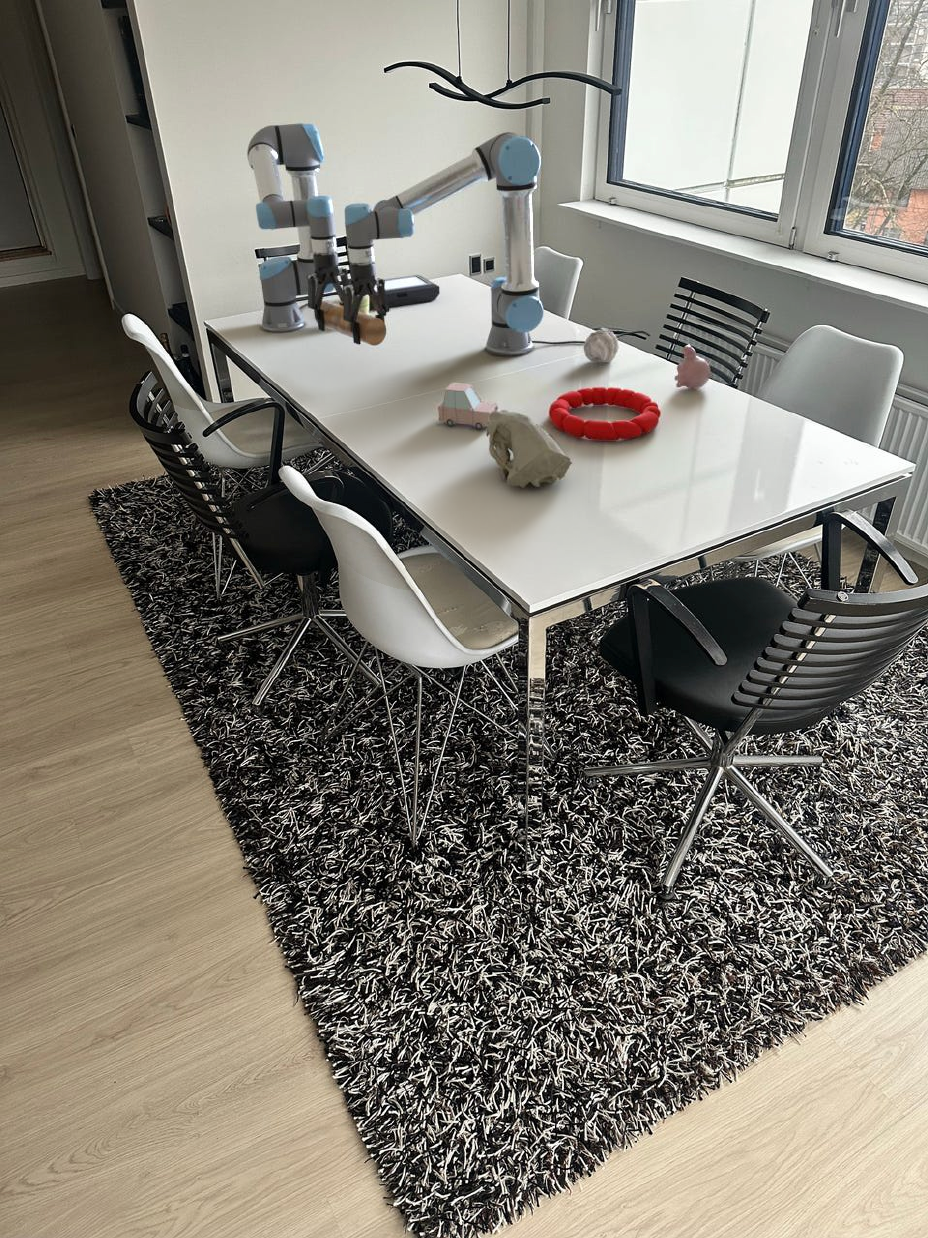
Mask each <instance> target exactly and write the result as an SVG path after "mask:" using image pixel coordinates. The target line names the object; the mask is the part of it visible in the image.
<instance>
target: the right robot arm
mask: <svg viewBox="0 0 928 1238" xmlns="http://www.w3.org/2000/svg"><path fill="white" fill-rule="evenodd" d="M541 162H542V161H541V154H540V151H539V149H538V147H537V146H536V144H535V143H534V142H533V141H532V140H531V139H530V138H528V137H526V136H523V135H519V134H518V133H515V132H510V131H505V132H502V133H499V134H497V135H495V136H494V137H492V138H490V139H489V140H486V141H485V142H483V143H482V144H480V145H478V146H476V147H474V148H473V149H472V150H471V153H470V155H468V156H466V157H464V158H462V159H461V160H459V161H457V162H455V163H453V164H451V165H450V166H448V167H446V168H443V169H442V170H440V171H439V172H436V173H435V174H433V175H431V176H429V177H428V178H425V179H423V180H421V181H420V182H418V183H416V184H415V185H413V186H411V187H409V188H407V189H405V190H403V191H401V192H400V193H398V194H396V195H395V196H393V197H391V198H388V199H382V200H379V201H377V203H376V204H375V205H374V207H373V209H371V206H370V205H369V203H360V202H357V203H350V204H348V205H346V206H345V208H344V226H345V234H346V245H347V257H348V262H349V265H348V267H349V276H350V278H351V279H352V281H351V285H349V286H342V289H343V292H344V310H343V320H345V321H347V322H349V323H350V331H351V333H353V338H352V341H353V344H356V345H359V346H360V345H362V343H361V342H362V341H360V331H359V322H356V320H357V316H358V312H359V308H360V303H361V300H362V299H363V296H366V295H369V297H370V299H371V301H372V303H373V305H374V307H375V309H374V310H375V312H376V313H377V314H374V317H376V318H378V319H381V320H382V321H383V322H384V323H385V324H386V322H385V317H386V316H387V313H389V312H390V307H389V305H388V301H387V296H386V292H385V279H383V278H380V277H378V278H376V276H377V275H376V274H377V272H376V263H375V249H374V241H375V240H388V239H391V240H392V239H404V238H410V237H413V235H414V231H415V221H414V217H416V216H418V215H420V214H421V213H424V212H425V211H428V210H429V209H431V208H433V207H435V206H436V205H439V204H440V203H442V202H444V201H446V200H449V198H452V197H453V196H455V195H458V194H459V193H462V192H463V191H464V190H467V189H468V188H470V187H472V186H474V185H476V184H478V183H479V182H482V181H483V182H487V183H488V182H489V181H491V180H493V179H495V185H496V187H495V188H496V191H497V192H498V193H499V194H500V195H501V200H502V202H501V203H502V224H503V226H502V227H503V245H504V246H503V248H504V269H505V272H504V273H505V276H502V277H501V276H500V277H496V278H494V279H492V281H491V287H490V295H491V296H490V297H491V301H490V303H491V304H490V305H491V327H490V331H489V334H488V338H487V340H486V344H485V345H486V351H487V352H488V353H490V354H492V355H495V356H502V357H516V356H521V355H525V354H528V353H530V352H531V351H532V350H533V344H543V345H564V344H565V345H567V344H568V345H569V344H583V345H584V344H585V342H586V340H568V341H543V340H532V337H531V334H530V332H532V331H534V330H535V329H537V327H539V326H540V324H541V323H542V320H543V318H544V306H543V304H542V301H541V300H540V283H539V282H538V281H537V280H536V279H535V275H534V273H535V272H534V235H533V234H534V233H533V231H534V230H533V199H532V198H533V196H532V194H533V192H534V191H535V189H537V185H538V184H537V176H538V174H539V171H540V168H541ZM375 285H376V286H377V291H378V295H379V299H378V297H377V293H376V291H375V289H374V288H375ZM352 289H353V290H354V293H353V302H352V292H353V291H352ZM358 295H359V296H358ZM379 300H380V301H379ZM634 334H644V335H646V336H648V337H652V335H651V334H650V333H649V332H647V331H645V330H634V331H629V332H623V333H619V334H617V335H615V336H616V338H617V339H618V338H621V337H623V336H630V335H634Z"/></svg>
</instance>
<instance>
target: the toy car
mask: <svg viewBox="0 0 928 1238" xmlns="http://www.w3.org/2000/svg"><path fill="white" fill-rule="evenodd" d="M498 409H499V404H498V403H497V402H490V401H489V402H487V401H483V397H481V396H480V395H479V394H478V393H477V391H476V390H475V389H474V386H472V384H469V383H459V382H451V383H450V384H449V385H448V386H447V387H446V388H445V389H444V394H443V399H442V403H440V404H439V405H438V406H437V413H438V421H439V422H443V423H446V425H447V426H448V427H452V426H454V425H455V424H461V425H469V426H473V427H475V429H476V430H479V431H480V430H481V429H483V428H485V427H486V428H487V423H488V422H490V414H491V413H492V412H496V411H499V410H498Z"/></svg>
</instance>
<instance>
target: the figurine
mask: <svg viewBox="0 0 928 1238" xmlns="http://www.w3.org/2000/svg"><path fill="white" fill-rule="evenodd" d="M682 354H683V358H684V359H683V361H682V362H679V363H678V364H677V365H676V372H677V375H675V376H674V381H675V382H676V381H677V382H676V384H675V386H676V388H681V387H686V388H688V389H693V390H694V389H695V390H696V389H700V388H703V387H704V386H705V385H706V384H707V383H708V382H709V379H710V377H711V367H710V364H709V362H708V361H706V359H704V358H702V357H700V356H697V353H696V350H695V349H694V347H692V345H690V344H686V345H685V346H684V347H683V348H682Z"/></svg>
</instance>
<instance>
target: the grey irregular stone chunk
mask: <svg viewBox="0 0 928 1238" xmlns="http://www.w3.org/2000/svg"><path fill="white" fill-rule="evenodd" d="M485 436H486V438H487V437H489V438H488V440H489V444H488V445H489V446H488V450H489V454H490V456H491V457H492V458H493V459H494V460H495V462H496V464H497V466H499V468H500V470H501V471H502V472H501V478H502V479H507V480H506V484H507V486H517V487H518V486H519V488H523V489H524V488H526V486H527V485H529V483H531V485H533V486H534V487H536V488H540V485H541V484H542V482H544V483H549V484H550V485H553V484H555V483H556V482H557V480H561V479H563V478H565V476H566V474H567V472H568V471H569V469H570V467H571V466H572V464H573V462H572V461H571V458H570V457H568V456H567V455H565V453H564V451H562V449H561V448H560V446H559V444H557V443H556V439H555V438H554V436H553V435H551V434H550V433H548V432H547V431H546V430H545V429H544V428H542V427H541V426H539V425H538V424H537V423H536V424H535V422H534V421H533V419H532V418H531V417H530V416H529V415H527V414H524V413H519V412H515V411H509V410H507V409H502V410H500V411H499V410H497V411H496V412H492V413H491V414H490V422H488V423H487V427H486V435H485ZM511 453H512V454H511ZM511 455H512V457H513V458H512V460H511ZM507 474H508V475H507Z"/></svg>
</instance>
